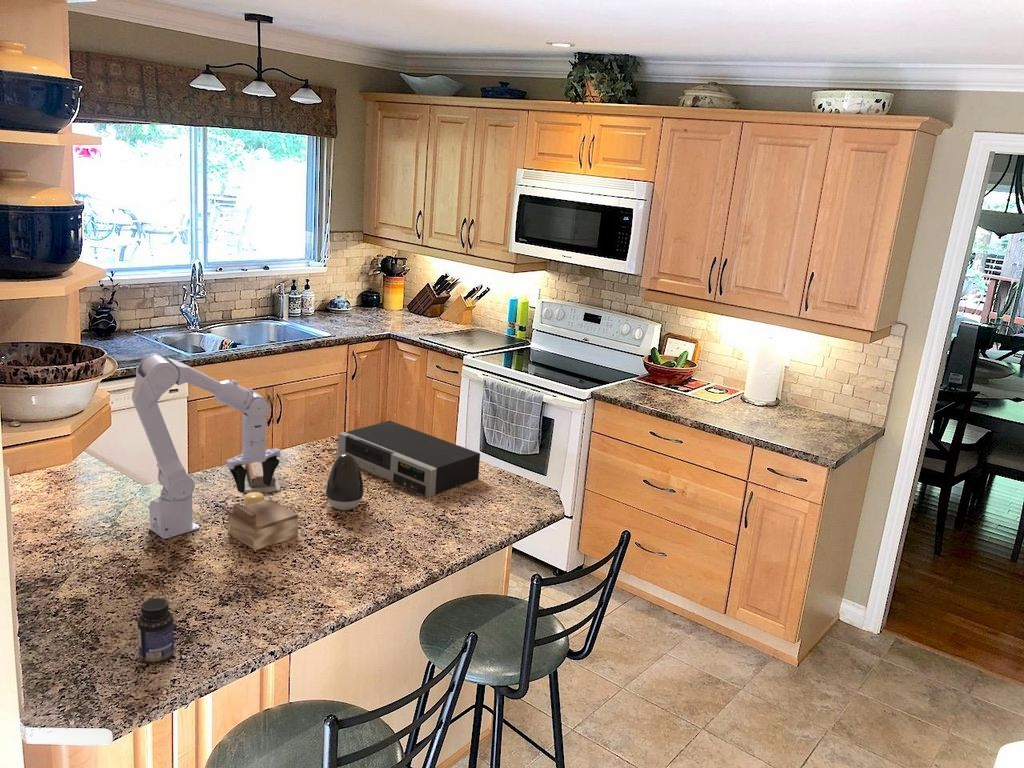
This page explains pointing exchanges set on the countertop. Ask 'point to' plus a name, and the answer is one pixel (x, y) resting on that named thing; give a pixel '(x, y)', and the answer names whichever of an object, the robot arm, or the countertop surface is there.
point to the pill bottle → (155, 631)
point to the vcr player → (410, 457)
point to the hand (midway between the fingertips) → (254, 488)
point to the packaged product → (258, 479)
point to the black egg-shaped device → (345, 483)
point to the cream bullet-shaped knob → (252, 498)
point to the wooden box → (262, 533)
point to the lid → (262, 514)
